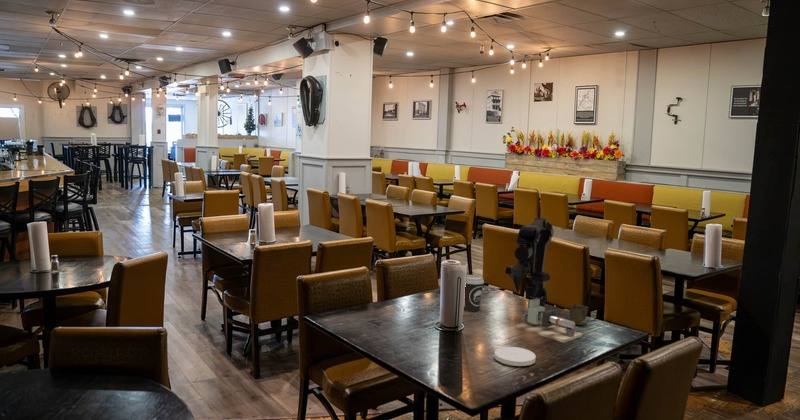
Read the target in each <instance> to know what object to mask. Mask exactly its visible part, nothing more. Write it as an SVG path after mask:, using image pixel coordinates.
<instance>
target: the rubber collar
mask: <svg viewBox="0 0 800 420" xmlns="http://www.w3.org/2000/svg"><path fill="white" fill-rule="evenodd" d="M549 315H553V316H556V310H555V309H552V308H551V309H548V310H545V311H544V312H543V316H542V326H543V327H549V326H552V325H555V326H556V324H553V323H550V322H548V317H549Z"/></svg>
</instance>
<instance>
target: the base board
mask: <svg viewBox="0 0 800 420" xmlns="http://www.w3.org/2000/svg"><path fill="white" fill-rule="evenodd" d="M514 328H515V329H518V330H519V329H520V330H522V331H525V332H529V333H532V334H535V335H538V336H542V337H544V338H548V339H551V340H554V341H557V342H560V343H563V344H565V343H567V342H570V341H572V340H575V339H577V338H580V337H582V336H583V333H582V332H578V331H576V330H574V336H572V337H569V336H566V330H567V327H565V328H564V327H563V326H559V325H556V324H555V325H552V326H549V327H543V326H542V322H541V323H538V324H533V323H529V324H526V323H524V321H523V322H520V323H517V324H516V323H515V324H514Z"/></svg>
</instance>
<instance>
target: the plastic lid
mask: <svg viewBox="0 0 800 420" xmlns="http://www.w3.org/2000/svg"><path fill="white" fill-rule="evenodd" d="M536 356H537V355H536V354H535V353H534V352H533V351H532V350H529V349H527V348H523V347H517V346H516V347H515V346H504V347H498V348H496V349H495V351H494V356H493V357H494V359H495V360H496V361H498V362H500V363H501V364H504V365H508V366H515V367H522V366H523V367H525V366H531V365H533V364H535V363H536Z"/></svg>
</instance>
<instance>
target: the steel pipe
mask: <svg viewBox="0 0 800 420" xmlns="http://www.w3.org/2000/svg"><path fill="white" fill-rule="evenodd" d="M542 316H543V313H542V312H538V319H540V320H542ZM527 320H528V307H526V308H525V309H524V311H523V322H524V323H526V324H529V322H527ZM548 322H550V323H553V324H555V325H556V326H559V327H562V328H564V327H565V328H566V329H567V330H566V336H569V337H572V336H574V331H575V327H576V325H575V322H574V321H573V320H571V319H567V318H566V319H565V318H563V317H560V316H556V315H555V316H553V315H549V317H548Z"/></svg>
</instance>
